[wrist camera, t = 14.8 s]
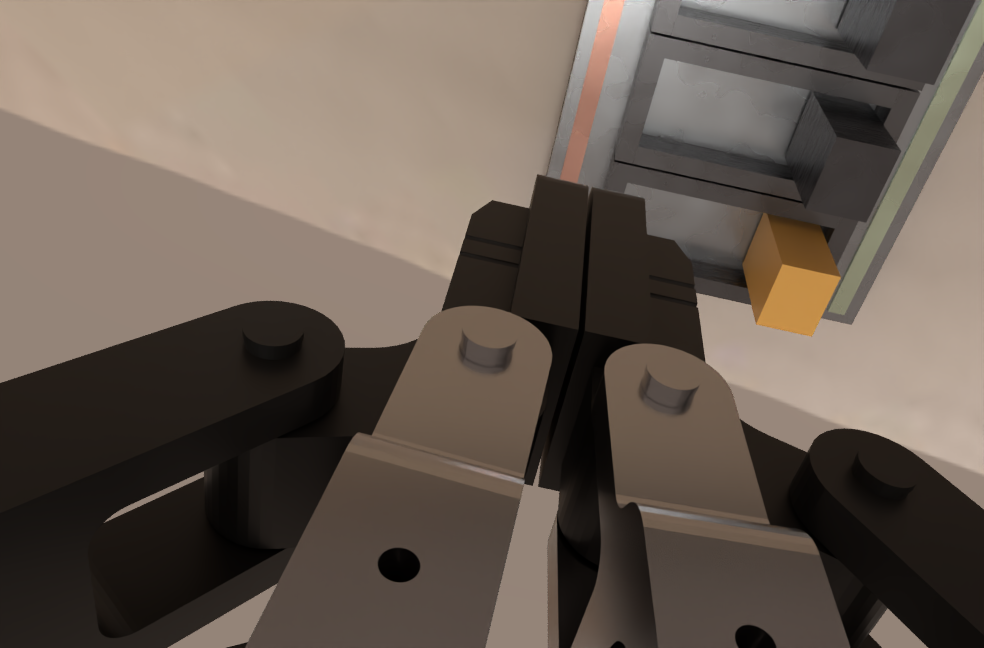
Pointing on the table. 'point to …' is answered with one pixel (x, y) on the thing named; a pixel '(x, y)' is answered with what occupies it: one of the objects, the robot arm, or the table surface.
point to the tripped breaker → (789, 274)
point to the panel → (769, 121)
